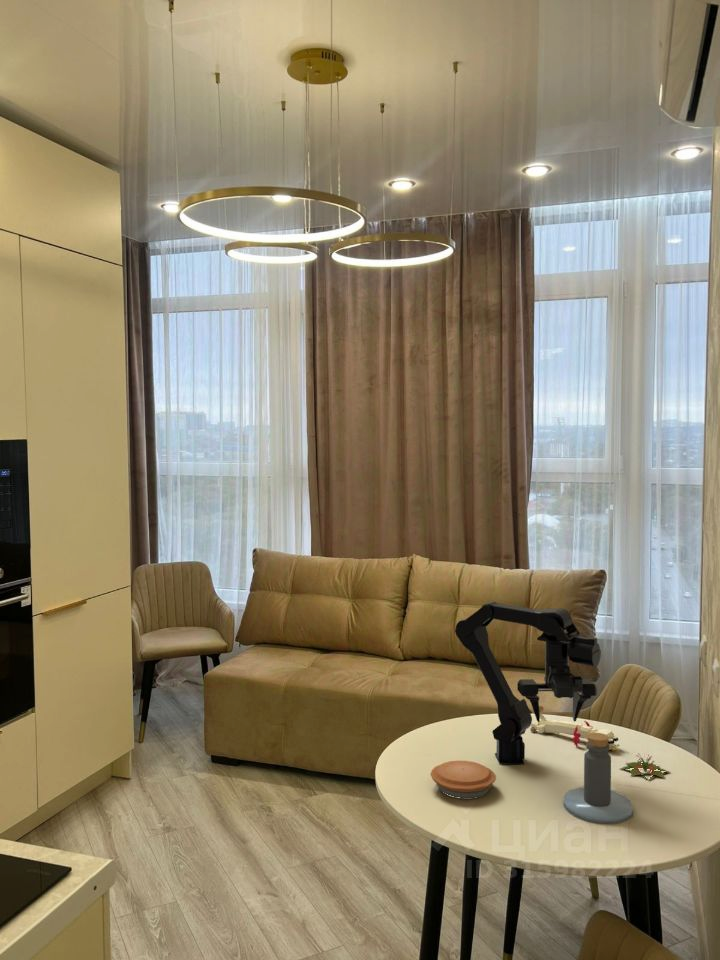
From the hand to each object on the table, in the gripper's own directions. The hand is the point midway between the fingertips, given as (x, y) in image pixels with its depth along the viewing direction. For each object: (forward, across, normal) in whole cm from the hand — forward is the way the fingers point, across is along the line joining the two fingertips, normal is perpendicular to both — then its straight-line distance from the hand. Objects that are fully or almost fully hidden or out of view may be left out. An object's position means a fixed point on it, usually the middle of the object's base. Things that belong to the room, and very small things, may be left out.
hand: (556, 721), depth 200 cm
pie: (+13, -25, -9) cm, 30 cm away
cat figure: (+14, +11, +21) cm, 27 cm away
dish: (+13, +4, -20) cm, 24 cm away
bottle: (+12, +4, -20) cm, 23 cm away
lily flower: (+14, +23, 0) cm, 27 cm away
